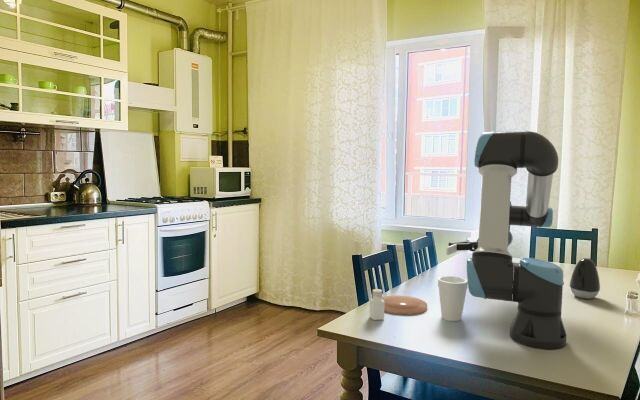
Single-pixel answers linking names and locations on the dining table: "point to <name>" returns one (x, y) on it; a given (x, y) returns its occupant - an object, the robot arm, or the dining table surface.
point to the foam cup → (452, 296)
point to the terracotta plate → (404, 305)
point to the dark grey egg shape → (585, 279)
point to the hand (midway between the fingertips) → (465, 254)
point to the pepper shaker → (377, 305)
